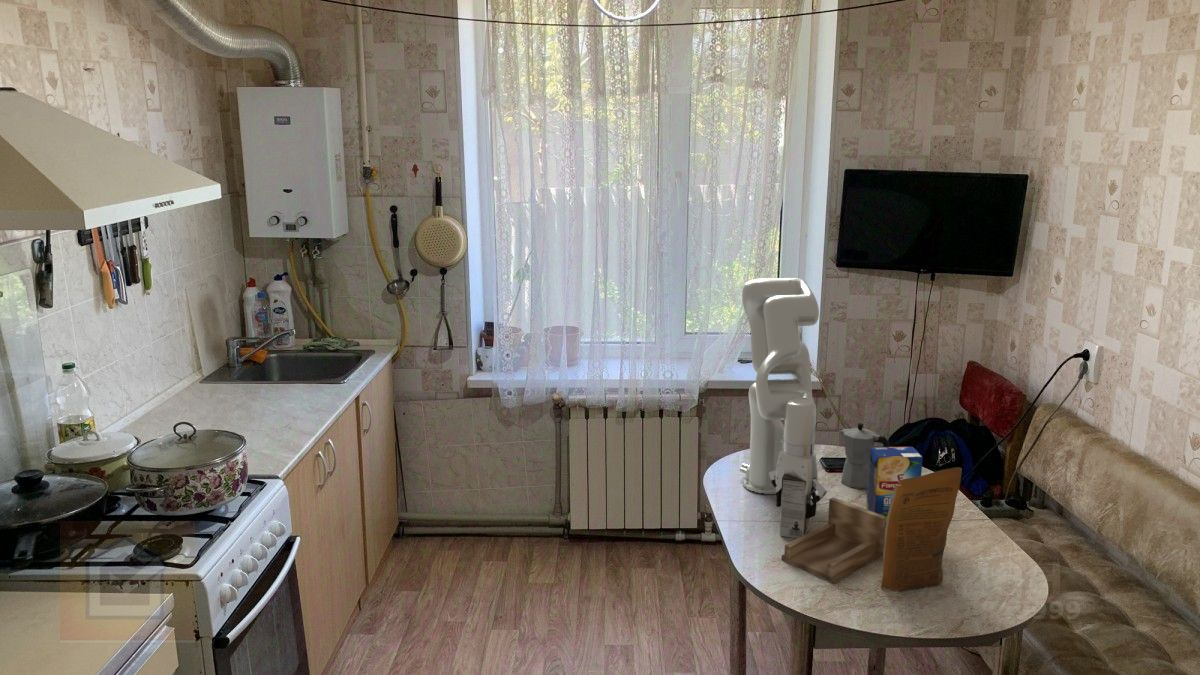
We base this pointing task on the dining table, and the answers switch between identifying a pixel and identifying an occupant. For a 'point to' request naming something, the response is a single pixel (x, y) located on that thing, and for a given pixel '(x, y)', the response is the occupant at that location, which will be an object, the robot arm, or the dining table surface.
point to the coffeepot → (858, 455)
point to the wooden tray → (839, 542)
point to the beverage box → (889, 474)
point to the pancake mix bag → (919, 530)
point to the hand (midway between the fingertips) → (795, 511)
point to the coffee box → (793, 507)
